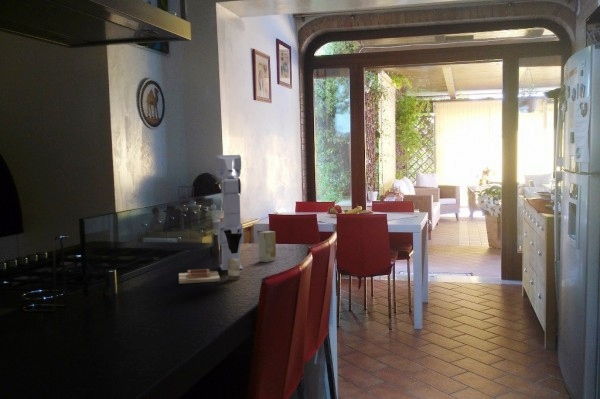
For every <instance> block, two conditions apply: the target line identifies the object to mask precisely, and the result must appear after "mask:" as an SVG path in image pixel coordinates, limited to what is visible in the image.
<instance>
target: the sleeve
mask: <svg viewBox="0 0 600 399" xmlns="http://www.w3.org/2000/svg"><path fill="white" fill-rule="evenodd" d="M240 279H241V277H240V269H239V259H228V270H227V280H228V281H239V280H240Z"/></svg>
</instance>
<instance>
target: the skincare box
mask: <svg viewBox="0 0 600 399" xmlns="http://www.w3.org/2000/svg"><path fill="white" fill-rule="evenodd" d="M276 242H277V241H276V231H274V230H273V231H272V230H267V231H265V230H264V231H259V232H258V261H259V262H263V263H269V262H273V261H276V260H277V255H276V254H277V253H276V252H277V250H276Z"/></svg>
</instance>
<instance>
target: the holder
mask: <svg viewBox="0 0 600 399" xmlns="http://www.w3.org/2000/svg"><path fill="white" fill-rule="evenodd" d="M220 281H221V277H220V275H219V272H218V270H210V269H209V268H206V269H205V268H203V269H187V272H179V273H178V284H195V283H196V284H197V283H198V284H199V283H211V282H214V283H215V282H220Z"/></svg>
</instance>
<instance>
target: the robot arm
mask: <svg viewBox="0 0 600 399" xmlns="http://www.w3.org/2000/svg"><path fill="white" fill-rule="evenodd" d="M241 171H242V156H241V155H240V154H220V155H218V154H216V155H215V175H216V178H218V179H220V180H221V193H222V200H223V221H221V222H220V223H219V224H218V226H217V244H218V245H219V246H221V264H219V266H220V269H221V271H228V259H239V270H243V265H242V264H241V263H242V262H241V246H242V244H244V243H245V242H244V241H245V240H244V227H243V224H242V222H241V220H242V219H241V194H242V182H241V178H240V176H241Z"/></svg>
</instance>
